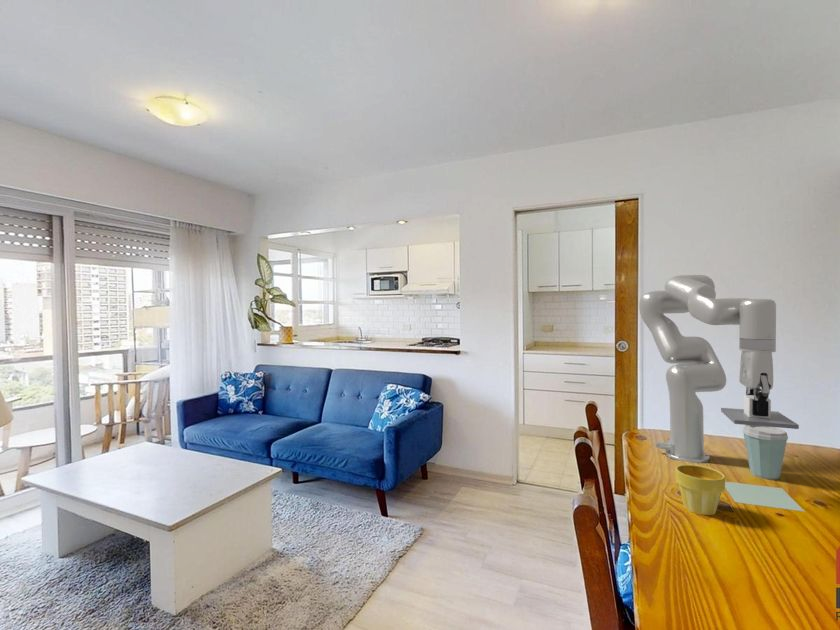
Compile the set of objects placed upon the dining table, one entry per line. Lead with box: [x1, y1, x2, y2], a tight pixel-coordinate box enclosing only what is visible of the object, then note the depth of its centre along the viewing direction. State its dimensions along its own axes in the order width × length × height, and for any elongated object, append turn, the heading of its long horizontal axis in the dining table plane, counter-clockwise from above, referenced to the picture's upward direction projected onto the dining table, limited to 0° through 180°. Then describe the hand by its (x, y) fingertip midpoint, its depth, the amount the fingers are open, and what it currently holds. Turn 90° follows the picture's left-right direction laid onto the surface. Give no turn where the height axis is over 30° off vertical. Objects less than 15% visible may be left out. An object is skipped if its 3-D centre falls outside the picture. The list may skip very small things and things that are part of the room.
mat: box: [725, 481, 806, 513], centre depth 110 cm, size 14×14×1 cm
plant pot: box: [674, 463, 726, 516], centre depth 104 cm, size 10×10×10 cm
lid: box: [720, 394, 800, 430], centre depth 110 cm, size 13×13×6 cm
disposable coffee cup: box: [741, 425, 789, 481], centre depth 123 cm, size 11×11×15 cm
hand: (756, 412), depth 111 cm, fingers closed on lid, 4 cm apart
